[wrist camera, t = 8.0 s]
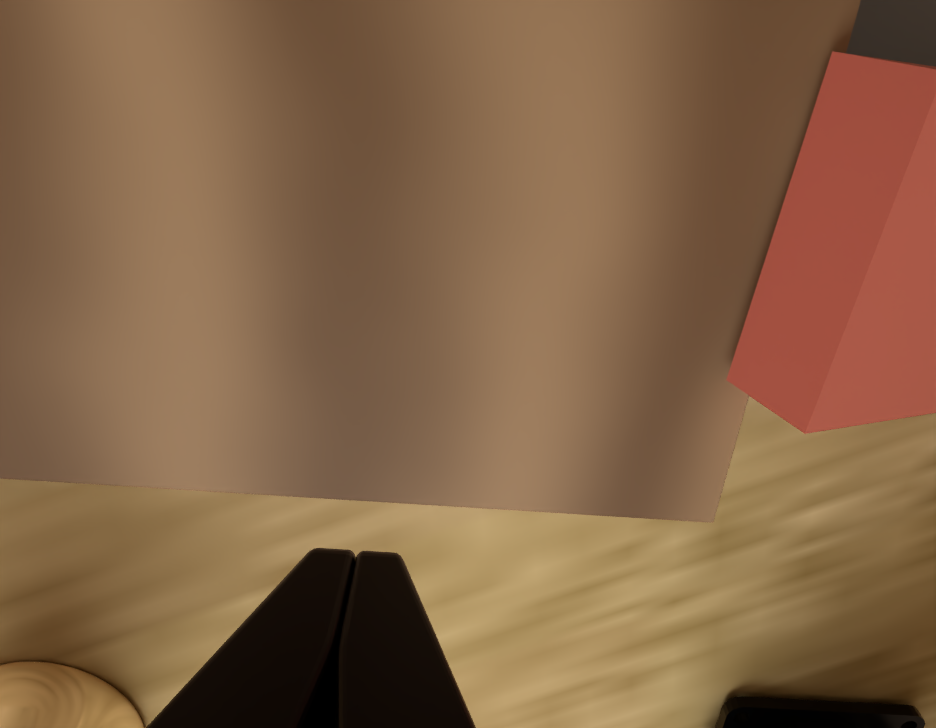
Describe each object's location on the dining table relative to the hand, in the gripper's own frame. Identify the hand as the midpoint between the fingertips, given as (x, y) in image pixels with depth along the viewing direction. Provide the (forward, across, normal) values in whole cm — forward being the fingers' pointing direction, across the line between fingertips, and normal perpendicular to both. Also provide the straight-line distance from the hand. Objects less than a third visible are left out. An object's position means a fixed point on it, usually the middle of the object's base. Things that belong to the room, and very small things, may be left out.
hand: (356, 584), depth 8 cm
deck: (+12, +1, -2) cm, 12 cm away
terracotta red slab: (+10, -10, -1) cm, 14 cm away
